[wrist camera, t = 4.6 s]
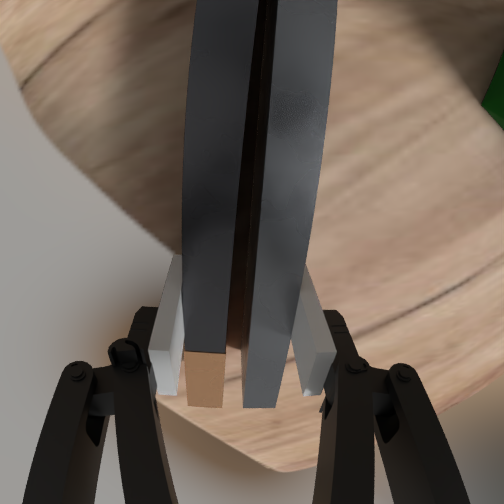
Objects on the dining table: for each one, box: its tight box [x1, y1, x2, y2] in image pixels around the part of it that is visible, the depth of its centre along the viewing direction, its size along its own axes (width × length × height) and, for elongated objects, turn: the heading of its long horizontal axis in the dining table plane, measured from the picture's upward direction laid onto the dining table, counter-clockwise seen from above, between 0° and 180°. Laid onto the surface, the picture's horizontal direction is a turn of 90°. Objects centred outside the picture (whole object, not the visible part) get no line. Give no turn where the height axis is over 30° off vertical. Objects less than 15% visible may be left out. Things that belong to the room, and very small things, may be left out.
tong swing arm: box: [182, 0, 259, 408], centre depth 13 cm, size 27×2×5 cm, turn 174°
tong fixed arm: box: [241, 0, 338, 408], centre depth 12 cm, size 32×4×5 cm, turn 176°
